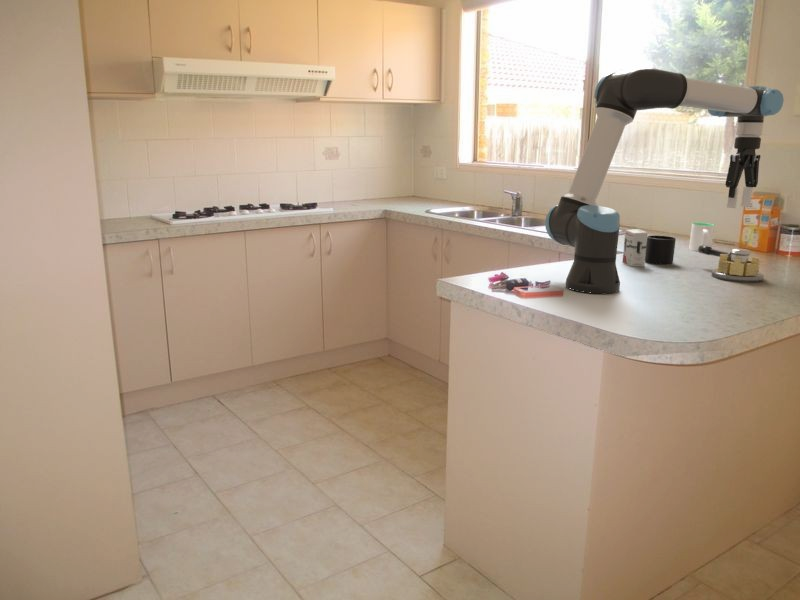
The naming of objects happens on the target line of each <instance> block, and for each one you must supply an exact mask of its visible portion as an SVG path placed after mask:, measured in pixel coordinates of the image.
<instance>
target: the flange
mask: <svg viewBox="0 0 800 600" xmlns="http://www.w3.org/2000/svg"><path fill="white" fill-rule="evenodd" d="M750 251H751V250H749V249H745V248H732V249H731V253H732V255H731V262H735V258H736V257H737V258H742V262H741V263H748V260H750V255H751V252H750ZM711 277H712V278H715V279H717V280H723V281H727V282H734V283H744V284H745V283H746V284H747V283H748V284H752V283H755V284H756V283H762V282H764V280H765V275H764V274H763V273H761V272H758V275H756V276H744V275H743V276H739V275H730V274H725V273H722V272H718V268H714V269H711Z"/></svg>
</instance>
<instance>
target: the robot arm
mask: <svg viewBox="0 0 800 600" xmlns="http://www.w3.org/2000/svg"><path fill="white" fill-rule="evenodd" d="M594 99H595V100H594V101H595V102H594V103H595V104H596V105H595V107H594V112H595V114H596V117H597V118H596V119H595V123H594V125H593V127H592V130H591V132H590V135H589V138H588V140H587V143H586V146H585V149H584V151H583V154H582V156H581V158H580V162H579V164H578V166H577V169H576V171H575V174H574V177H573V179H572V182H571V185H570V187H569V190H568V192H567V193H564V194H563V195H562V196H561V197H560V199H559V202H558V205H555V206H554V207H552V208H550V209H549V211H548V213H547V214H546V218H545V221H544V222H545V223H544V226H545V230H546V233H547V235H548V236H549V237H550V239H552V240H553V241H555V242H556V243H558V244H560V245H562V246H564V245H565V246H569V247H573V248H574V255H573V256H574V257H573V262H572V265H571V266H570V267H571V268H570V269H569V272H568V274H567V277H566V280H565V287H566V286H567V287H568V288H571V289H574V290H578V291H584V292H591V293H590V294H594V293H609V294H616V293H618V292H619V291H620V289H621V288H620V287H621V281H620V276H619V273H618V268H617V253H618V243H619V236H620V227H621V223H620V222H621V220H620V219H621V216H620V213H619V212H618V211H617V210H615V209H613V208H611V207H607V206H601V205H598V204H597V199H598V197H599V195H600V192H601V189H602V186H603V185H604V181H605V179H606V177H607V174H608V170H609V169H610V166H611V164H612V161H613V159H614V155H615V153H616V151H617V149H618V146H619V143H620V140H621V138H622V135H623V133H624V130H625V128H626V126H627V125H629V124H631V123H633V122H634V119H635V117H636V114H637V111H644V110H653V109H655V110H656V109H671V110H672V109H676V108H678V107H685V108H686V107H687V108H694V109H703V110H707V112H708V113H709V114H710V116H712V117H718V118H721V117H723V118H725V117H728V118H737V124H736V127H735V128H736V132H735V135H736V137H735V139H734V146H733V147H734V149H735V150H737V151H736V154H731V155H730V157H729V166H728V171H727V174H726V179H725V187H726V188H728V197H727V203H726V208H728V209H737V203H738V196H739V182H740V180H741V178H742V176H743V173H744V183H745V186H743V190H742V195H741V203H740V207H742V208H743V207H745V208H751V202H752V196H753V189H754V188H757V185H758V184H759V183H758V182H759V169H760V160H761V155H760V154H757V153H756V150H759V149H761V140H762V138H761V137H760V136H762V135H763V128H764V127H763V126H764V120H765V117H769V116H774V115H777V114H779V112H780V111H781V110H782V108H783V106H784V102H785V100H784V94H783V93H782V91H780V90H779V89H776V88H767V87H766V86H761V85H759V86H758V85H757V86H756V85H755V86H751V85H750V86H740V85H734V84H729V83H721V82H714V81H707V80H699V79H693V78H687V77H686V75H685V74H684V73H678V72H673V71H669V70H663V69H659V68H655V67H637V68H629V69H619V70H614V71H612V72H609V73H607V74H605V75H603V77H601V79H600V80H598V82H597V84H596V86H595V88H594ZM567 287H566V288H567ZM568 288H567V289H568ZM571 289H570V290H571ZM574 290H573V291H574ZM578 291H577V292H578ZM584 292H583V293H584ZM615 292H616V293H615Z"/></svg>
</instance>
